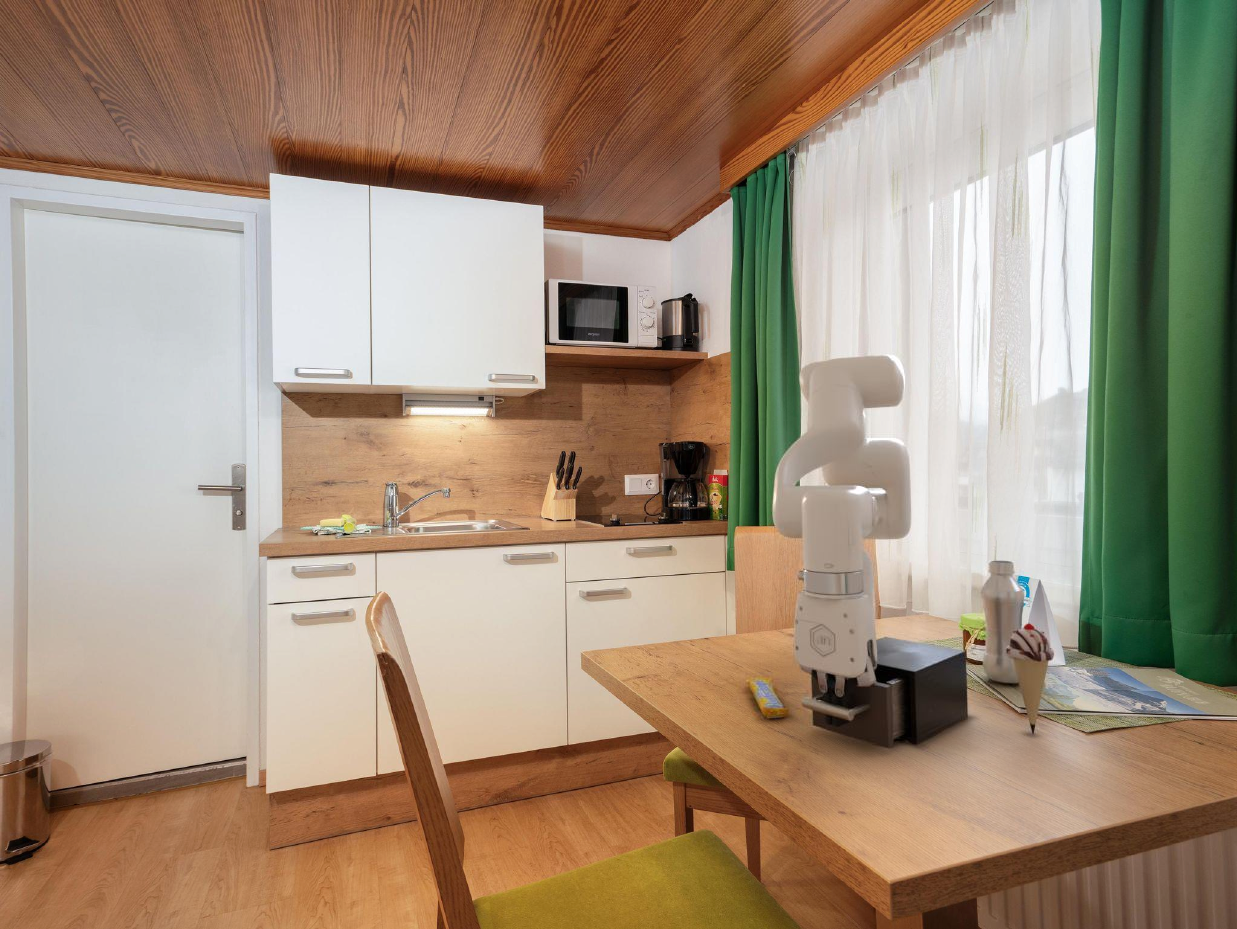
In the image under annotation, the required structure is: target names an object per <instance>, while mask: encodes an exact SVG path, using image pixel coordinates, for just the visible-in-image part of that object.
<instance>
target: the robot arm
mask: <svg viewBox="0 0 1237 929" xmlns="http://www.w3.org/2000/svg"><path fill="white" fill-rule="evenodd" d="M798 377H799V378H798V379H799V380H798V381H799V386H800V389H801V393H802V395H803V397H804V399H805V400H806V401H807V403H808V409H807V410H808V411H807V431H806V432H804V433H803V434H802V435H801V436H800V437H798V438H797V440H795V441H794V442H793V443H792V444H791V445H790V447H788V449H787V450H786V451H785V453H784V454H783V455H782V457H781V459H780V460H779V462H778V464H777V466H776V470H775V474H774V481H773V494H772V508H771V510H772V511H771V512H772V522H773V525H774V528H775V529H776V531H777V532H778V533H779V535H782V536H784V537H785V538H789V539H802V565H803V570H799V571H798V573H797V580H799V581H802V582H803V589H804V590H800V591H798V596H797V600H796V605H795V614H794V623H793V657H794V661H795V662H796V664H798V665H799V668H800V670H801V671H803V672H805V673H807V674H809V675H810V676H811V675H813V677H814V678H815V679H816V681H817V682H818V684H819V688H820V691H821V692H823V693H824V702H827V703H830V704H834V705H838V706H841V707H845V708H849V709H851V693H852V692H854V691H855V689H856V688H857V687H858V686H859V687H862V686H871V685H873V684H875V683H876V677H875V673H874V670H875V669H876V667H877V642H876V640H877V630H876V628H877V627H876V597H875V596H876V595H875V569H874V568H875V567H874V561H873V559H872V556H871V555H870V554H869V552H868V551H867V550H866V549H865V548H864V547H863V541H864V540H900V539H904V538H905V537H907V536H908V534H909V533H910V530H911V526H912V494H911V493H912V492H911V488H912V487H911V465H910V455H909V452H908V449H907V446H906V445H905V443H904V442H903V441H902V440H900V439H897V438H891V437H885V438H883V437H881V438H868V437H867V419H866V414H865V409H877V408H878V409H879V408H893V407H894V408H895V407H898V406H899V405H901V403H902V401H903V399H904V395H905V390H906V389H905V388H906V378H905V372H904V368H903V365H902V363H901V361H900V359H899V358H898V357H897V356H895V355H892V354H875V355H863V356H850V357H849V356H848V357H839V358H832V359H827V360H821V361H815V362H811V363H808V364H806V365H805V366H804V367H802V368H801V370H800V371H799V376H798ZM820 468H821V470H822V477H823V479H824V480H823V481H824V482H825V483H826V484H827V485H797V484H798V482H799V481H800V480H802V478H804V477H805V476H806V475H808V474H809V473H811V472H813V471H815V470H817V469H820ZM869 489H882V490H869ZM848 722H850V721H849V720H845V719H842V718H838V717H835V716H832V715H828V714H826V724H829V725H832V724H833V726H835V727H839V726H842V725H844V724H846V723H848Z"/></svg>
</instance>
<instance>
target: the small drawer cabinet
mask: <svg viewBox="0 0 1237 929" xmlns="http://www.w3.org/2000/svg"><path fill="white" fill-rule="evenodd" d="M876 642H877V667H876V669H878V670H882V671H887V672H891V673H896V674H900V675H905V676H910V677H909V680H910V709H911V731H910V732H908V733H906V734H904V735H902V736H900V737H898V738H896V739H897V740H899V741H900V740H901V741H903V742H907V743H909V744H910V743H911V744H914V745H919V744H921V743H922V742H925V741H927V740H928V739H930V738H932V737H934V736H936V735H938V734H940V733H941V732H943V731H945V730H947V729H949V728H951V727H952V726H954V725H956V724H958V723H960V722H963V720H966V719H967V718H969V713H968V712H969V705H968V679H967V678H968V676H967V673H968V672H967V651H966V650H962V649H955V648H950V647H945V646H941V645H940V646H939V645H934V644H928V643H923V642H917V641H911V640H907V639H899V638H895V637H889V636H888V637H887V636H884V637H879V638H878V639H877V638H876Z"/></svg>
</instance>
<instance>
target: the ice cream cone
mask: <svg viewBox="0 0 1237 929" xmlns="http://www.w3.org/2000/svg"><path fill="white" fill-rule="evenodd" d="M1013 633H1014V634H1013V635H1012V637H1011V639H1010V645H1008V646H1006V654H1007V656H1008V657H1009V658H1012V659H1013V662H1014V666H1015V670H1016V674H1017V677H1018V681H1019V683H1018V685H1019V689H1020V691H1021V696H1022V699H1023V700H1022V701H1023V703H1024V704H1023V705H1024V707H1025V711H1026V714H1027V719H1028V722H1029V726H1030V731H1031V734H1032V735H1034V734H1035V728H1036V725H1037V719H1038V716H1039V710H1040V704H1041V700H1042V695H1043V690H1044V685H1045V680H1046V676H1047V670H1048V666H1049V662H1050V661H1053V659H1054V657H1055V650H1054V649H1052V647H1051V645H1050V641H1049V639H1048V637H1047V636H1046V635H1045V631H1041V630H1039V629H1037V628H1035V626H1034V625H1033V624H1032V623H1025V624H1024V626H1023V627H1021V628H1020V629H1018V630H1017V631H1013Z"/></svg>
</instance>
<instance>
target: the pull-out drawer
mask: <svg viewBox="0 0 1237 929" xmlns="http://www.w3.org/2000/svg"><path fill="white" fill-rule="evenodd" d="M874 673H875V677H876V683H875V684H873V685H871V686H862V687H859V686H858V687H857V688H856V689H855V691H854V692H852V693H851V709H849V708H845V707H841V706H838V705H834V704H830V703H827V702H824V693H823V692H821V691H820V688H819V684H818V682H817V681H816V679H815V678H814V677H813V675H810V677H811V678H810V679H811V680H810V681H811V697H808V696H804V697H803V698H802V700H801V706H802V708H804V709H807V710H811V712H812V713H811V714H812V726H814V727H817V728H820V729H823V730H826V731H829V732H833V733H835V734H839V735H842V736H846V737H848V738H853V739H855V740H859V741H862V742H865V743H868V744H872V745H874V746H878V747H881V748H884V749H886V750H887V749H888V750H889V749H891V748H893V747H894V740H896V739H897V738H898V737H900V736H902V735H904V734H906V733H908V732H910V731H911V709H910V680H909V677H910V676H905V675H900V674H896V673H891V672H887V671H882V670H878V669H875V670H874ZM826 714H828V715H832V716H835V717H838V718H842V719H845V720H849V721H850V722H848V723H846V724H844V725H842V726H839V727H835V726H833V724H832V725H829V724H826Z"/></svg>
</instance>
